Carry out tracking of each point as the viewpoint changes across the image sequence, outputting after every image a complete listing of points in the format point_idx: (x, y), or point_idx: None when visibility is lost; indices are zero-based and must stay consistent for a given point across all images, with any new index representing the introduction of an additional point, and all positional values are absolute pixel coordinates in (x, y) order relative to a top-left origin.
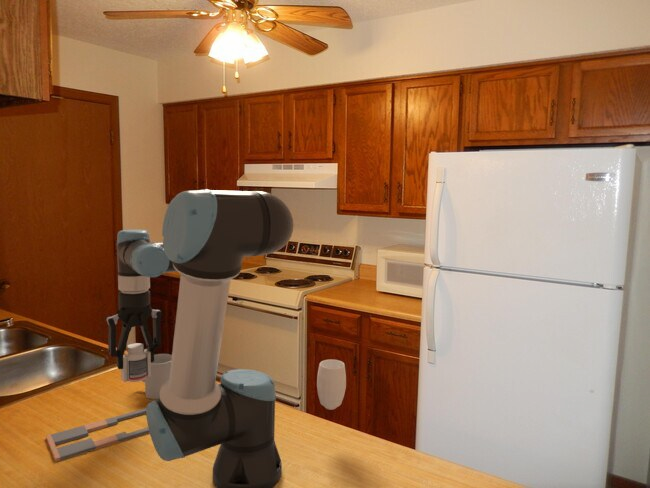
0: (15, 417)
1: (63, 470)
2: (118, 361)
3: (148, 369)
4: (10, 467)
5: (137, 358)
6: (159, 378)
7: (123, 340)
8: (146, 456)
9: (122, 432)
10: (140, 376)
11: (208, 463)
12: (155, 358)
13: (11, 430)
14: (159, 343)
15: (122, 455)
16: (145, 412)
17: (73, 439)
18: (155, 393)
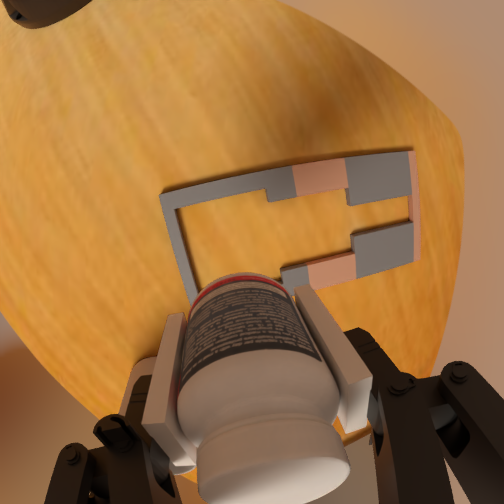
0: (429, 351)
1: (397, 109)
2: (387, 359)
3: (175, 335)
4: (460, 177)
5: (258, 364)
6: None
7: (445, 501)
8: (227, 67)
9: (276, 200)
10: (226, 285)
11: (106, 9)
12: (170, 465)
13: (444, 310)
14: (66, 468)
15: (283, 97)
16: None
17: (379, 228)
18: None
